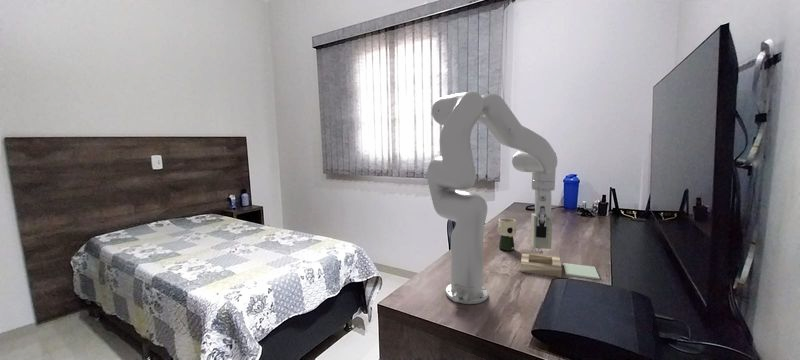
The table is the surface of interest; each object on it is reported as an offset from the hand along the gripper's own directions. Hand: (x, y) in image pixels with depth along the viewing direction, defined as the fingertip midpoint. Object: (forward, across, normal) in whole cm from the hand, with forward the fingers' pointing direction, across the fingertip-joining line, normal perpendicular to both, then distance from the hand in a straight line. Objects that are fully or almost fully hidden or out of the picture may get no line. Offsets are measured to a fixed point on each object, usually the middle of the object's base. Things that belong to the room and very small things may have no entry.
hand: (540, 234), depth 112 cm
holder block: (+13, 0, 0) cm, 13 cm away
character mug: (+13, +16, +13) cm, 24 cm away
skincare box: (+5, 0, 0) cm, 5 cm away
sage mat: (+12, +1, -13) cm, 18 cm away
